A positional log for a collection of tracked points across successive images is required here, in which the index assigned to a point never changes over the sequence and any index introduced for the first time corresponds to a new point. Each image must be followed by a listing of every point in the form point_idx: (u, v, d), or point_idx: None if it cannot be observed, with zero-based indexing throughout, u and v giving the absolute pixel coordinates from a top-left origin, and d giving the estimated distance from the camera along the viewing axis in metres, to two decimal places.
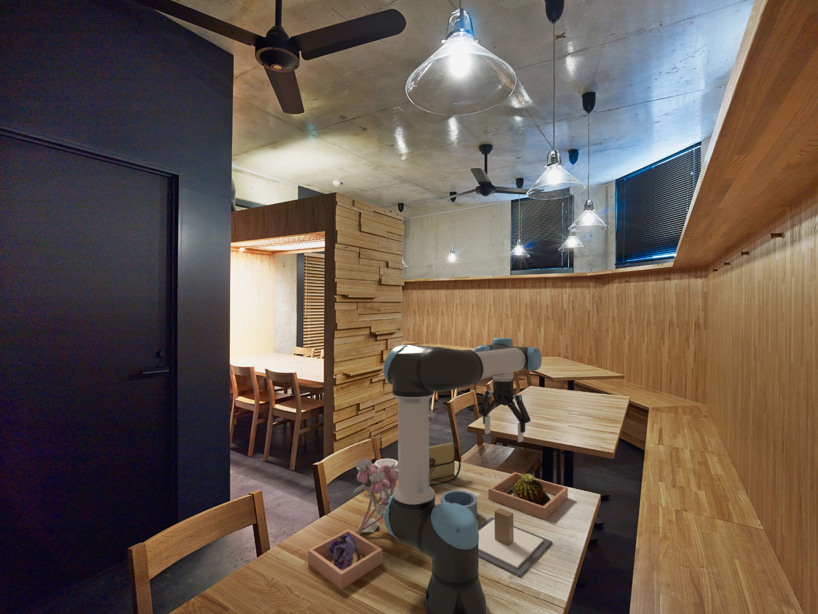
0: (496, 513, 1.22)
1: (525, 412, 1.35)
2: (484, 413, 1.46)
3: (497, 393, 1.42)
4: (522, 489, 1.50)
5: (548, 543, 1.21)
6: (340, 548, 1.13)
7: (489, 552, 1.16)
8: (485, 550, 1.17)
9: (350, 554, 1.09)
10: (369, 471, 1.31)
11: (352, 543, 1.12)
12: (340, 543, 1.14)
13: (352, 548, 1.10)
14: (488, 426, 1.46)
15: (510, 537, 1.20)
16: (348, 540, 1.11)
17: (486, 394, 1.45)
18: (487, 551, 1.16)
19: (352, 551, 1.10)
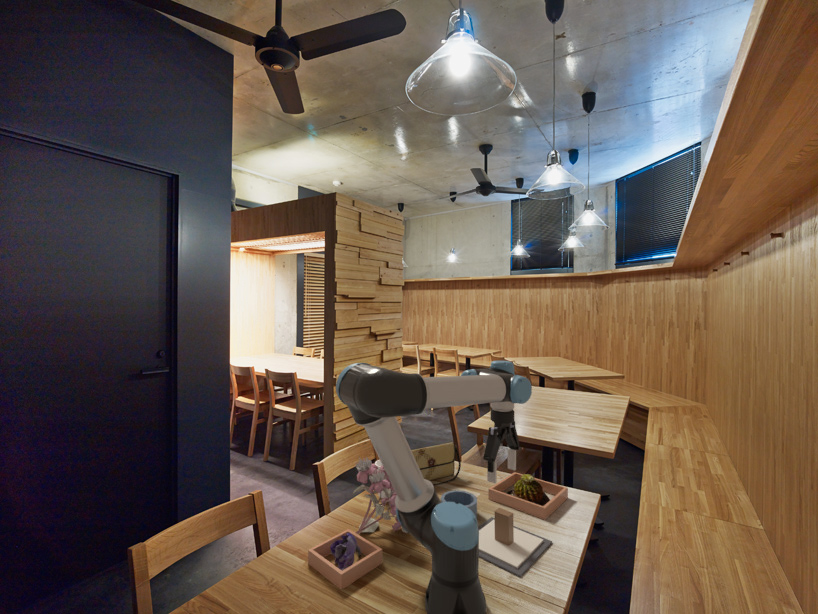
0: (496, 513, 1.22)
1: (488, 448, 1.17)
2: None
3: None
4: (521, 489, 1.49)
5: (548, 543, 1.21)
6: (341, 547, 1.13)
7: (489, 552, 1.16)
8: (485, 550, 1.17)
9: (351, 553, 1.09)
10: (369, 471, 1.31)
11: (353, 542, 1.12)
12: (341, 542, 1.14)
13: (353, 547, 1.11)
14: (511, 461, 1.28)
15: (510, 537, 1.20)
16: (349, 539, 1.11)
17: None
18: (487, 551, 1.16)
19: (353, 550, 1.10)
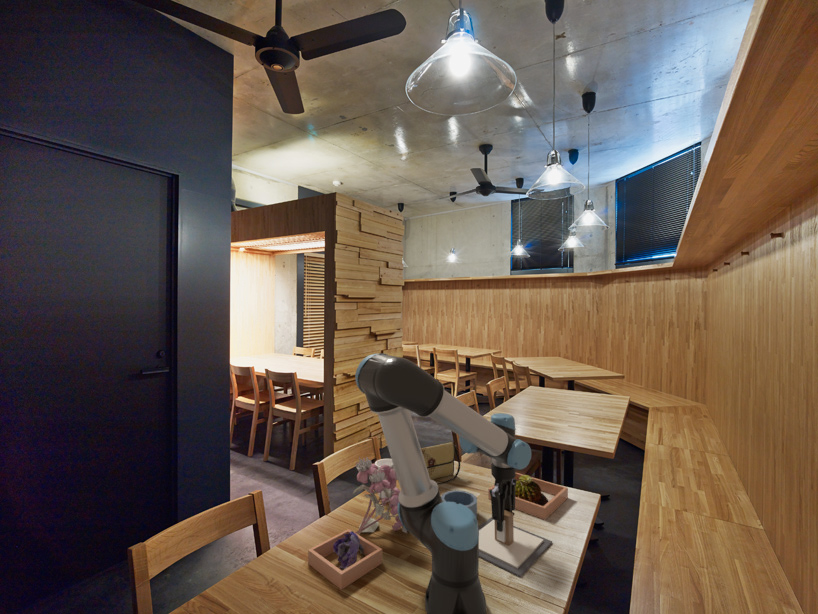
0: None
1: (494, 510, 1.18)
2: None
3: None
4: (520, 490, 1.48)
5: (548, 543, 1.21)
6: (344, 546, 1.14)
7: (489, 552, 1.16)
8: (485, 550, 1.17)
9: (354, 552, 1.10)
10: (369, 471, 1.31)
11: (356, 541, 1.13)
12: (344, 541, 1.15)
13: (356, 546, 1.11)
14: None
15: (510, 537, 1.20)
16: (352, 538, 1.12)
17: None
18: (487, 551, 1.16)
19: (356, 549, 1.11)
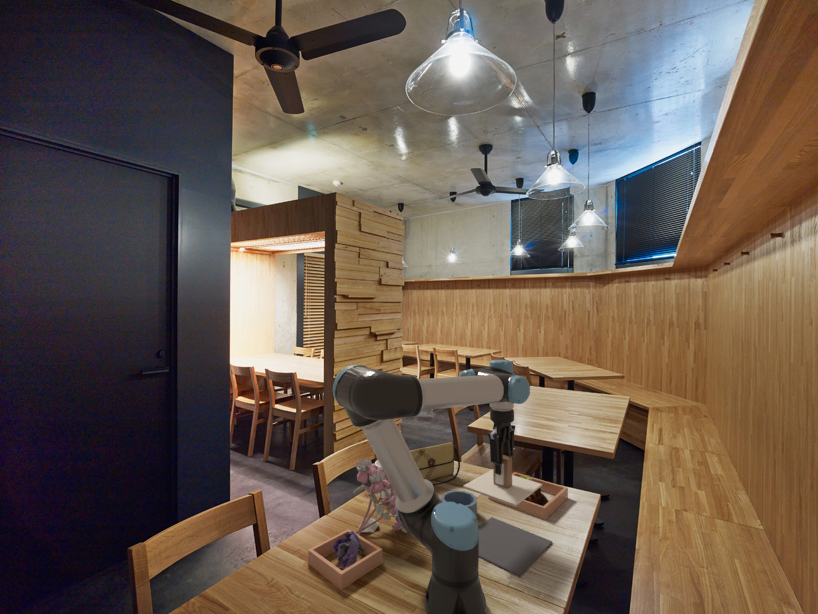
0: None
1: (493, 453, 1.19)
2: None
3: None
4: None
5: (548, 543, 1.21)
6: (344, 546, 1.14)
7: (488, 493, 1.17)
8: (484, 492, 1.18)
9: (354, 552, 1.10)
10: (369, 471, 1.31)
11: (356, 541, 1.13)
12: (344, 541, 1.15)
13: (356, 546, 1.11)
14: None
15: (509, 480, 1.21)
16: (352, 538, 1.12)
17: None
18: (486, 492, 1.17)
19: (356, 549, 1.11)
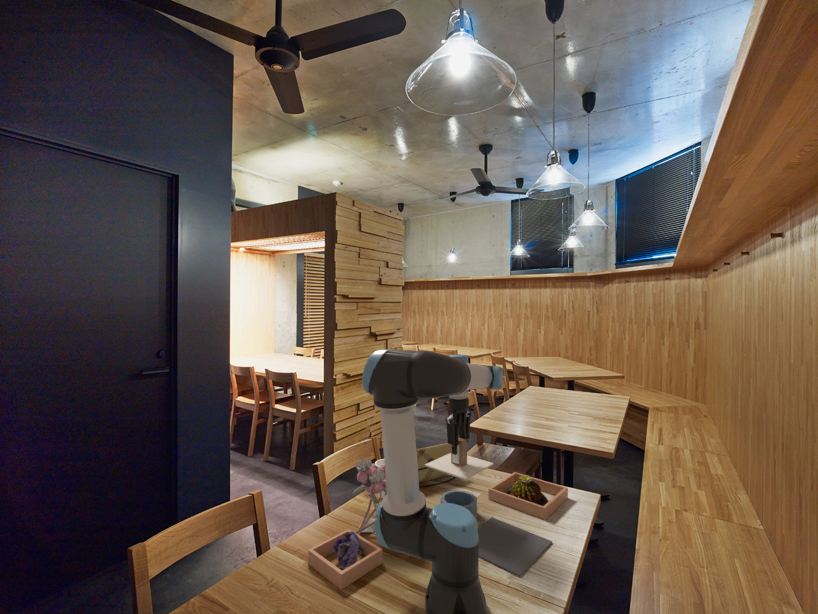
0: None
1: (449, 435, 1.36)
2: None
3: None
4: (520, 490, 1.48)
5: (548, 543, 1.21)
6: (344, 546, 1.14)
7: (444, 470, 1.34)
8: (441, 469, 1.35)
9: (354, 552, 1.10)
10: (369, 471, 1.31)
11: (356, 541, 1.13)
12: (344, 541, 1.15)
13: (356, 546, 1.11)
14: None
15: (464, 459, 1.38)
16: (352, 538, 1.12)
17: None
18: (442, 470, 1.34)
19: (356, 549, 1.11)
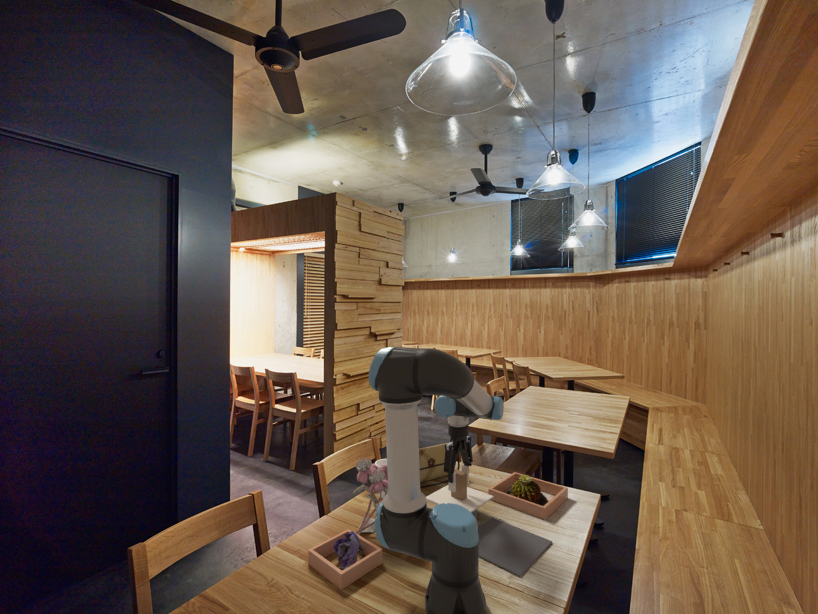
0: None
1: (446, 463, 1.35)
2: None
3: None
4: (520, 490, 1.48)
5: (548, 543, 1.21)
6: (344, 546, 1.14)
7: None
8: (441, 503, 1.35)
9: (354, 552, 1.10)
10: (369, 471, 1.31)
11: (356, 541, 1.13)
12: (344, 541, 1.15)
13: (356, 546, 1.11)
14: None
15: (463, 493, 1.38)
16: (352, 538, 1.12)
17: None
18: None
19: (356, 549, 1.11)
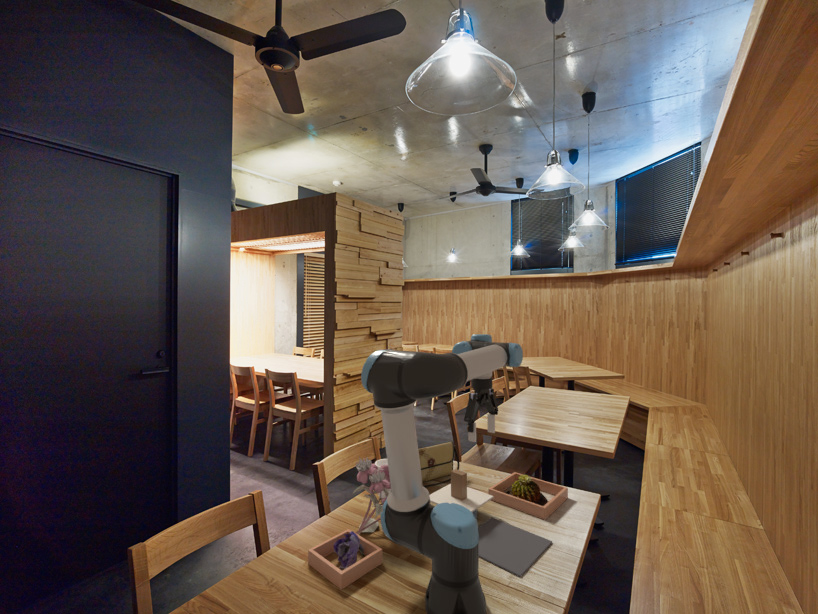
0: (452, 473, 1.40)
1: (468, 411, 1.31)
2: None
3: None
4: (519, 490, 1.49)
5: (548, 543, 1.21)
6: (344, 546, 1.14)
7: None
8: None
9: (354, 552, 1.09)
10: (369, 471, 1.31)
11: (356, 541, 1.13)
12: (344, 541, 1.15)
13: (356, 546, 1.11)
14: (490, 425, 1.42)
15: (463, 493, 1.38)
16: (352, 538, 1.12)
17: None
18: None
19: (356, 549, 1.11)
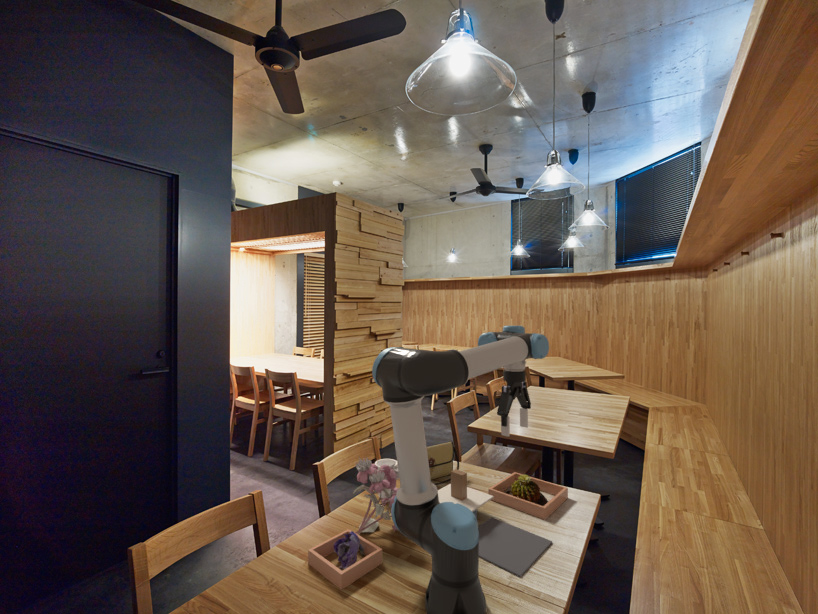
0: (452, 473, 1.40)
1: (501, 404, 1.27)
2: None
3: None
4: (519, 490, 1.49)
5: (548, 543, 1.21)
6: (344, 546, 1.14)
7: None
8: None
9: (354, 552, 1.09)
10: (369, 471, 1.31)
11: (356, 541, 1.13)
12: (344, 541, 1.15)
13: (356, 546, 1.11)
14: (523, 419, 1.37)
15: (463, 493, 1.38)
16: (352, 538, 1.12)
17: None
18: None
19: (356, 549, 1.11)
